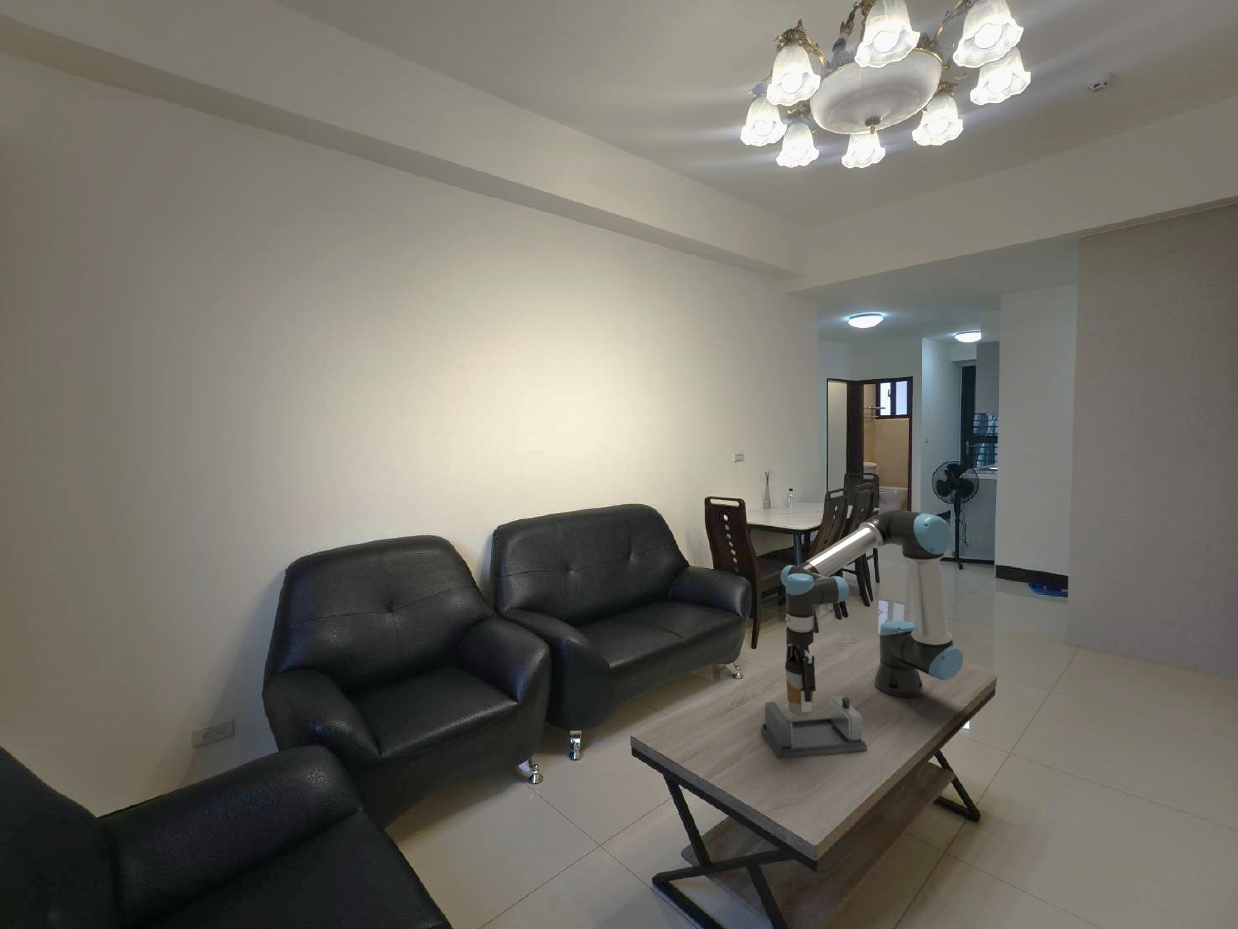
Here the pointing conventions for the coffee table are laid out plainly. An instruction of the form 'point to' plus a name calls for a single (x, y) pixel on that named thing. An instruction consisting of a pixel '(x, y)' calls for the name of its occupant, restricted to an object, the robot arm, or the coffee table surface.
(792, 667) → the coffee cup
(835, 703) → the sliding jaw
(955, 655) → the robot arm
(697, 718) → the coffee table surface
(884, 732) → the coffee table surface
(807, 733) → the base
